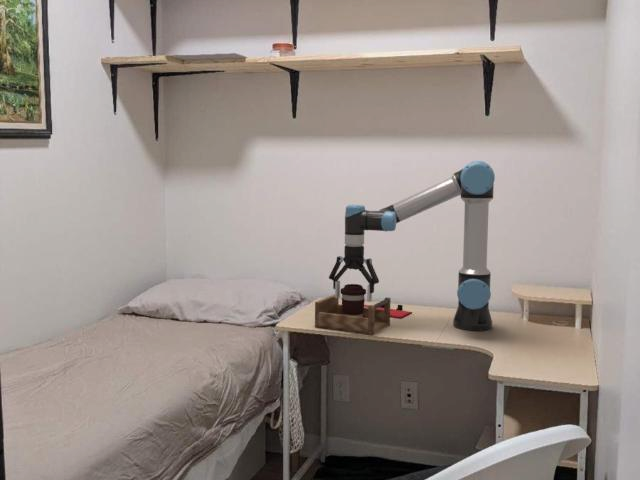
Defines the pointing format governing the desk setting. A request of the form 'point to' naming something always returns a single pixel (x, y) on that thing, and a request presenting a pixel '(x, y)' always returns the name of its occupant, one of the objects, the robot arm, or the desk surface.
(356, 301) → the coffee cup
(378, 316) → the wooden crate
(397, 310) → the red board with handle
